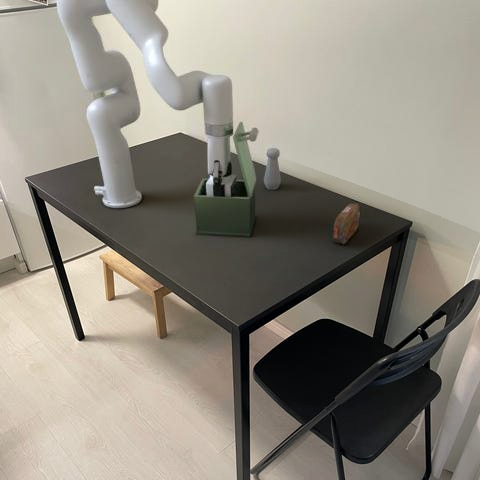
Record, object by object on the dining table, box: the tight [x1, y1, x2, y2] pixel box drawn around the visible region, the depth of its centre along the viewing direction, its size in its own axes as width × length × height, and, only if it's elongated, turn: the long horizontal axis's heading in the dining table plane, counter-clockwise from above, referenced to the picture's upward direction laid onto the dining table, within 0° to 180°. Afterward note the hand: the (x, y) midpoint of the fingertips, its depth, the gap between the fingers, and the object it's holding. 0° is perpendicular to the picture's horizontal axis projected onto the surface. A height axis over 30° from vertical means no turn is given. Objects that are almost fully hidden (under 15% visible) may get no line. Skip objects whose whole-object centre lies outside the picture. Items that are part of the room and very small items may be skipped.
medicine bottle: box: [206, 160, 237, 197], centre depth 136 cm, size 7×7×12 cm
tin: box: [332, 202, 362, 245], centre depth 136 cm, size 15×3×8 cm, turn 148°
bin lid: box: [232, 121, 260, 197], centre depth 131 cm, size 16×12×5 cm
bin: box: [193, 177, 256, 238], centre depth 141 cm, size 16×12×12 cm
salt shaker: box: [263, 147, 282, 191], centre depth 161 cm, size 6×6×13 cm
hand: (221, 191), depth 138 cm, fingers closed on medicine bottle, 7 cm apart
